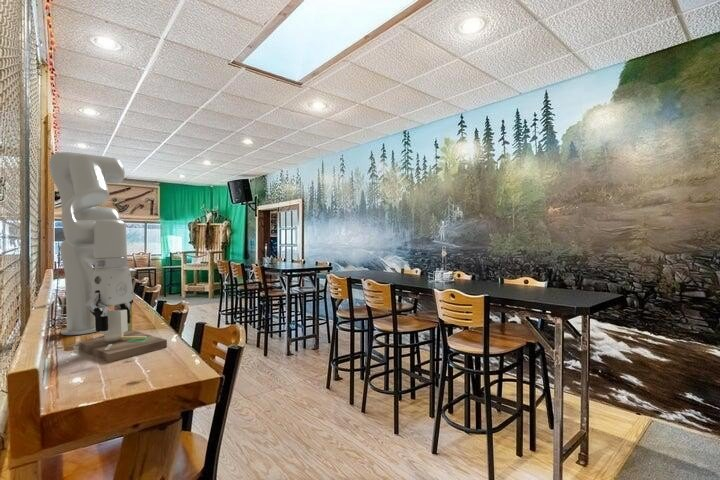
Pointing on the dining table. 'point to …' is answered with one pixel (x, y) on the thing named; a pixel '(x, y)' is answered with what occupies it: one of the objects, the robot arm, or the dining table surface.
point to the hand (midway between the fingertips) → (113, 326)
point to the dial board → (122, 346)
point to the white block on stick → (117, 326)
